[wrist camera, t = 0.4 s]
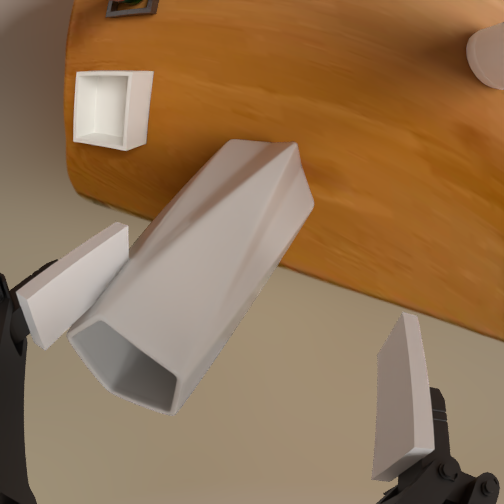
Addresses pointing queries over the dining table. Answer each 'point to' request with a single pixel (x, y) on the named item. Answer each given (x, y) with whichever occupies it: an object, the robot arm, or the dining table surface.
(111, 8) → the socket ring
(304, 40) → the dining table surface
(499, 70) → the bottle
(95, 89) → the bin
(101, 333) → the vase
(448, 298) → the dining table surface
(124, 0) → the soda can
